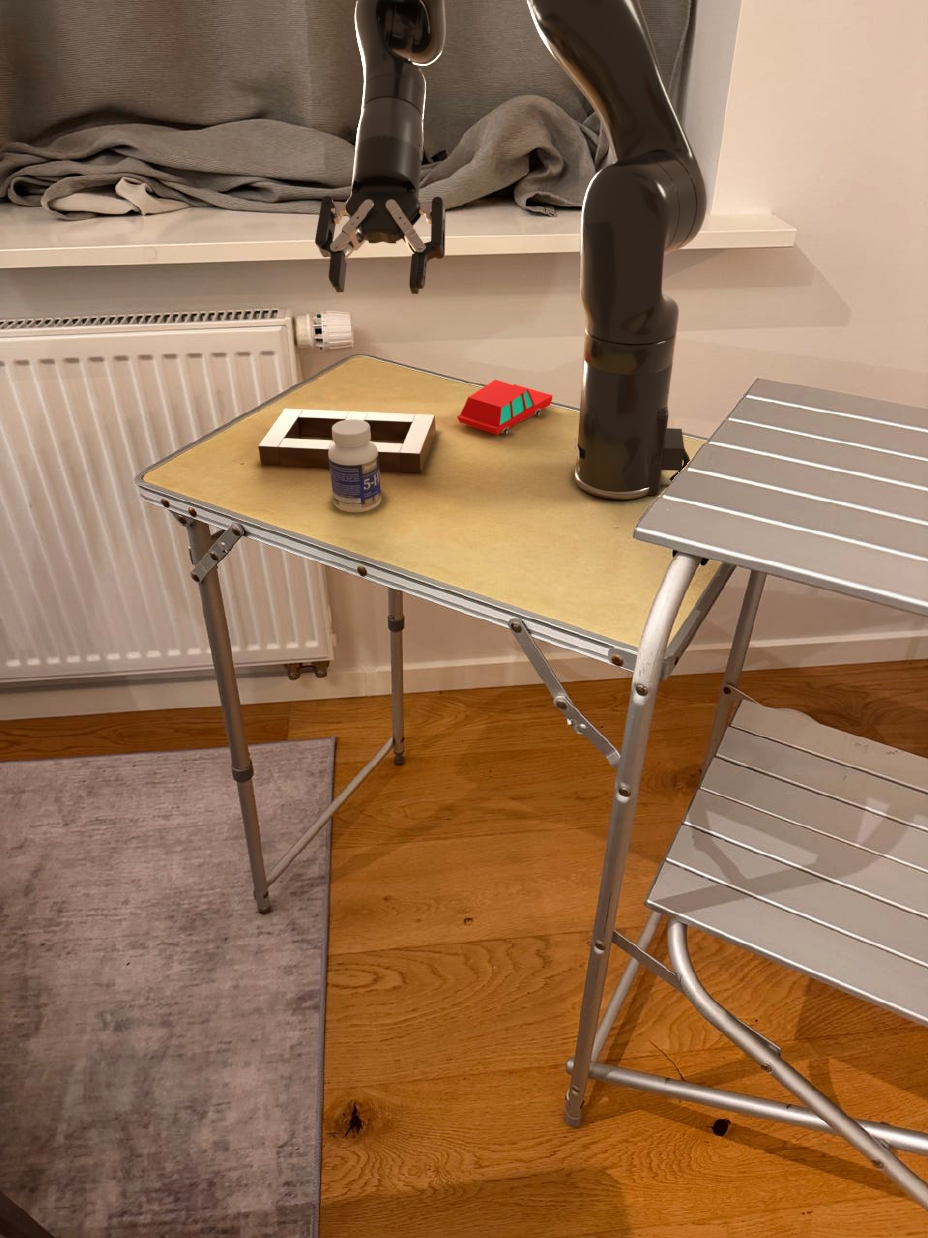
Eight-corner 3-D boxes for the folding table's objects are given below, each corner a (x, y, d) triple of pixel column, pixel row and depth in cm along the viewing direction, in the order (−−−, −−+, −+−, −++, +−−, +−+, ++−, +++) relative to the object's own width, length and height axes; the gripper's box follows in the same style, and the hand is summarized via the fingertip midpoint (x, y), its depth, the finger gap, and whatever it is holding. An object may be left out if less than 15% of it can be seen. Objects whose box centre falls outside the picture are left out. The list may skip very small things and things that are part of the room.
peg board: (435, 433, 113) (434, 414, 112) (420, 473, 104) (419, 453, 103) (287, 426, 115) (284, 408, 114) (261, 465, 107) (257, 445, 105)
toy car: (553, 408, 119) (554, 378, 116) (497, 439, 111) (498, 409, 109) (513, 396, 122) (514, 367, 120) (457, 426, 115) (456, 396, 112)
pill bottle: (373, 515, 97) (367, 439, 91) (327, 511, 98) (318, 435, 92) (387, 492, 101) (381, 418, 96) (342, 488, 102) (334, 414, 97)
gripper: (318, 133, 99) (303, 271, 97) (446, 132, 97) (434, 273, 95) (335, 175, 106) (322, 305, 104) (455, 175, 105) (444, 307, 102)
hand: (376, 289), depth 100 cm, fingers open, 8 cm apart
